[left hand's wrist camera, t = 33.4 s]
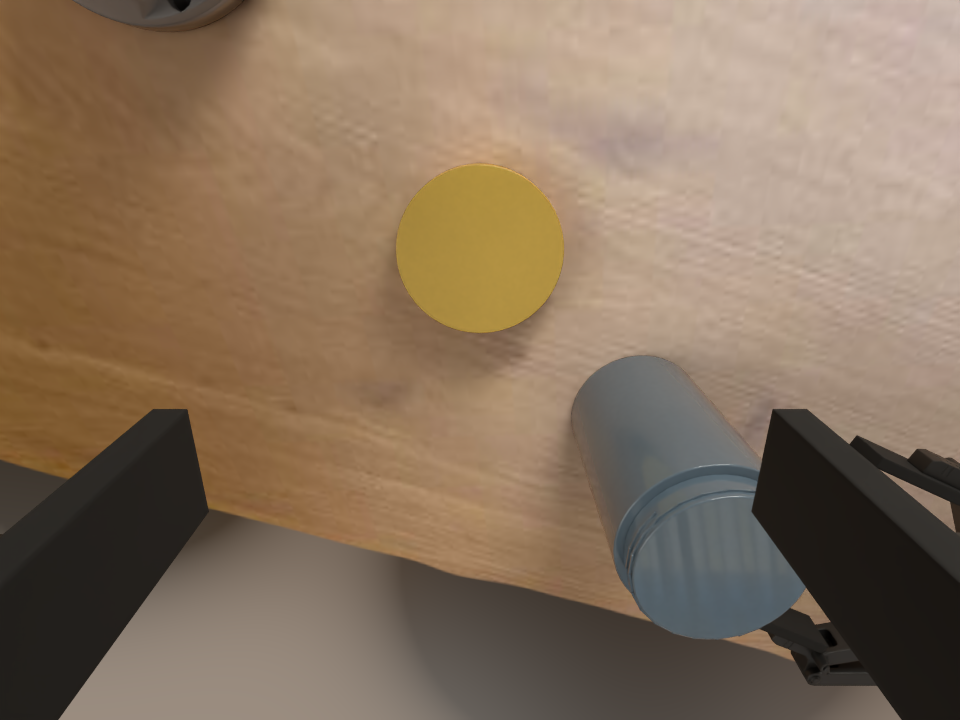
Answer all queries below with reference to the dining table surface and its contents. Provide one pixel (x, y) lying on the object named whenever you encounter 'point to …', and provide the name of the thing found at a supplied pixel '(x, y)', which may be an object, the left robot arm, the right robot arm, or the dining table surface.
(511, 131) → the dining table surface
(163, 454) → the left robot arm
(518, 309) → the lid
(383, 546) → the dining table surface
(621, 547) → the jar
